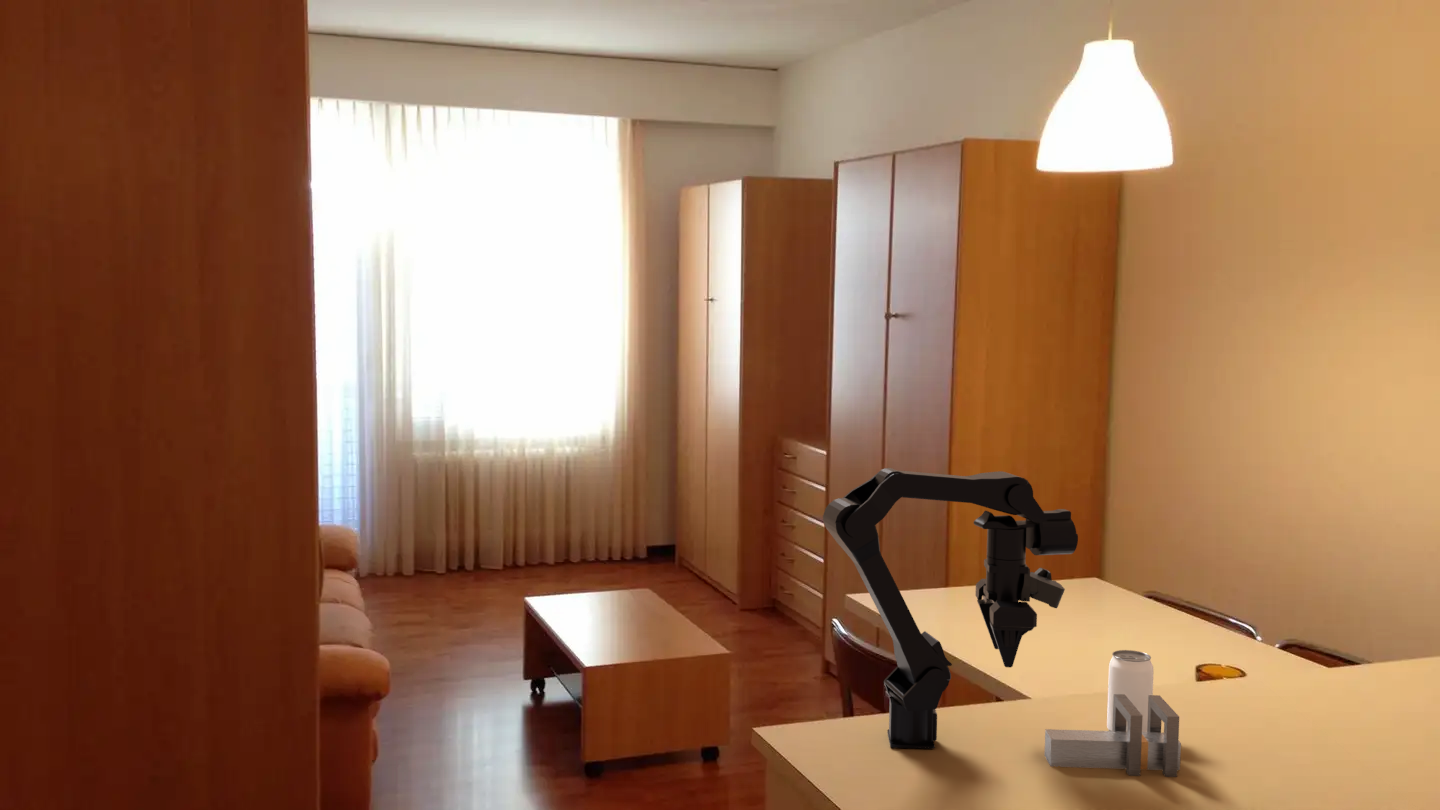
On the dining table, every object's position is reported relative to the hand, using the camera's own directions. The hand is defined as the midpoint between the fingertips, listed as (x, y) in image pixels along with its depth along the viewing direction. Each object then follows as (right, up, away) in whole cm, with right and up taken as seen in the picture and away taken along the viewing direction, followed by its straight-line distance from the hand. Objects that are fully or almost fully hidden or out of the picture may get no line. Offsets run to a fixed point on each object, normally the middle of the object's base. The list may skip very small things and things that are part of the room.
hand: (1003, 657), depth 179 cm
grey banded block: (+13, -13, -10) cm, 21 cm away
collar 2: (+20, -13, -10) cm, 26 cm away
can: (+20, -12, +3) cm, 24 cm away
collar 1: (+15, -13, -10) cm, 22 cm away
